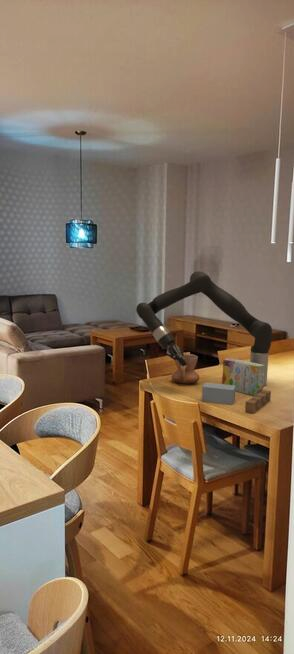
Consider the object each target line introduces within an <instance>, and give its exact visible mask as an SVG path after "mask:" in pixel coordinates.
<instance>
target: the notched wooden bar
mask: <svg viewBox="0 0 294 654" xmlns="http://www.w3.org/2000/svg"><path fill="white" fill-rule="evenodd" d="M271 395H272V391H271V390H267V389H263V391H261V392H260V393H258V394H257V395H255V396H252V397H251V398H250V399H248V400H247V401H245V406H244V408H245V409H244V412H245V413H247V414H253V415H254V414H255V413H256V412H258V411H259V410H260V409H261V408H262V407H264V406H265V405H266V404H268V403H269V402H271Z"/></svg>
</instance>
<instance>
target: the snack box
mask: <svg viewBox="0 0 294 654" xmlns="http://www.w3.org/2000/svg"><path fill="white" fill-rule="evenodd" d="M264 369H265V365H262V364H257V363H252V362H250V361H248V360H247V361H246V360H242V359H236V358H231V357H227V358H223V362H222V376H221V379H222V381H221V384H224V385H233V386H236V392H238V393H242V394H246V395H250V396H252V397H254V396H255V395H257V394H258V393H260V392H261V391H263V390H264V386H263V382H264Z"/></svg>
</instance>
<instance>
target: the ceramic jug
mask: <svg viewBox="0 0 294 654" xmlns="http://www.w3.org/2000/svg"><path fill="white" fill-rule="evenodd" d="M183 354H184V356H183V359H184V360H185V361H186V363H187V364H186V365H185V366H182V365H181V364H180V363H179V361H177V360H174V363H175V365H176V368H177V370H175V371H174V372H173V373H172V374H171V379H172V381H174V382H175V383H178V384H180V385H181V384H182V385H193V384H196V383H198V382H199V380H200V374H199V373H198V372H197V371H195V370H194V369H195V368H196V366H197V363H198V358H199V357H198V356H197V355H195V354H191V353H190V354H189V353H183Z"/></svg>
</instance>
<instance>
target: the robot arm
mask: <svg viewBox="0 0 294 654" xmlns="http://www.w3.org/2000/svg"><path fill="white" fill-rule="evenodd" d="M199 293H202V294H203V295H204V296H206V297H207V298H208V299H209V300H210V301H211V302H212V303H213V304H214V305H215V306H216V307H217V308H218V309H219V310H220V311H221V312H223V313H224V314H225V315H227V316H228V317H229V318H230V319H232V320H234V322H236V323H238V324H240V325H241V326H242V327H243V328H244V329H245V330H246V331H247V332H248V333H249V334H250V336H251V337H253V338H254V343H253V345H251V347H250V354H249V355H250V358H249V362H252V363H257V364H262V365H265V369H264V382H263V387H265V386H267V385H268V383H267V382H268V381H267V380H268V371H269V369H268V367H269V353H270V349H271V346H272V338H273V328H272V326H271V325H270V323H268V322H265V321H261V320H259V319H258V318H256V317H255V316H253V315H252V314H251V313H250V312H249V311H248V310H247V309H246V307H245V306H244V304H243V303H242V302H240V301H239V300H238V298H236V297H235V296H233V295H232V294H230V293H229V292H228V291H226V290H224V289H223V288H221V287H220V286H219V285H217V284H216V283H215V282H213V281H212V278H211V277H210V276H209V275H208V274H207V273H205V272H204V271H201V270H199V271H194V272H193V273H191V275H190V276H189V281H188V282H187V283H185V284H182V285H181V286H179V287H176V288H173V289H169V290H167V291H165V292H163V293H161V294H158V295H157V296H155V297H154V298H153V299H152V301H150V302H149V303H146V302H140V303H138V304H137V306H136V308H135V311H136V313H137V314H136V315H138V317H139V318H140V319H141V320H142V322H143V323H144V324H145V325H146V326H147V329H148V330H149V331H150V333H151V334H152V336H153V338H154V339H155V341H156V342H157V343H158V344H159V345H160V348H162V350H166V353H165V355H167V356H168V357H169V358H170V359H172V360H174V361H175V360H177V361H179V363H180V364H181V365H182V366H185V365H186V364H187V363H186V361H185V360H184V359H183V356H184V354H185V353H184V351H183V350H184V349H183V347H182V346H180V347H179V346H178V345H177V344H176V343H175V341H176V338H175V337H174V336H173V334H172V333H171V331H170V330H169V329H168V328H167V327H166V326H165V325H164V323H163V322H162V320H161V319H160V318H158V317H157V314H158V313H159V312H160V311H162V310H164V309H167V308H168V307H170V306H172V305H174V304H175V303H177V302H179V301H182V300H184V299H186V298H188V297H190V296H193V295H197V294H199Z"/></svg>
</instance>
